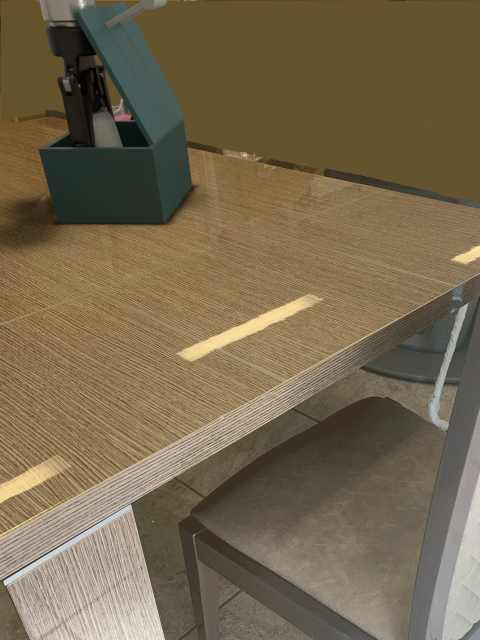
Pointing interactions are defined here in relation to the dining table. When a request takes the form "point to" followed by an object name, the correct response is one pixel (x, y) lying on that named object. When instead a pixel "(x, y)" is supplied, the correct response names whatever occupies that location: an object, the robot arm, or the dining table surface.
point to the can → (105, 129)
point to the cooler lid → (132, 65)
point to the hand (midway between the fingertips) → (105, 186)
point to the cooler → (118, 177)
